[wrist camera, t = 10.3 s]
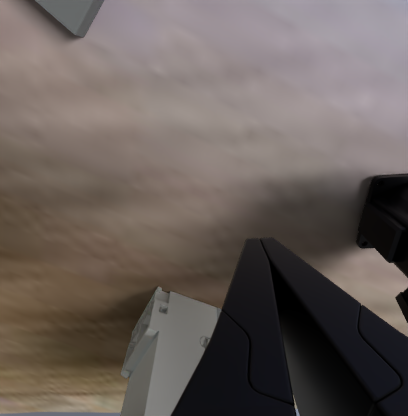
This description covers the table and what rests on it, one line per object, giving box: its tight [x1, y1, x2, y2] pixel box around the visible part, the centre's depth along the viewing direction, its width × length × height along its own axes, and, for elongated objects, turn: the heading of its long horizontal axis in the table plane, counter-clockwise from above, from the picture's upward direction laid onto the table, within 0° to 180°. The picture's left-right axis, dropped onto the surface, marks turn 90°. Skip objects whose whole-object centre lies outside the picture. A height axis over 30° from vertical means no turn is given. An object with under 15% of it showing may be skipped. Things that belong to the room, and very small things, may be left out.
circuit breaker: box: [120, 287, 221, 416], centre depth 22 cm, size 8×14×15 cm, turn 63°
